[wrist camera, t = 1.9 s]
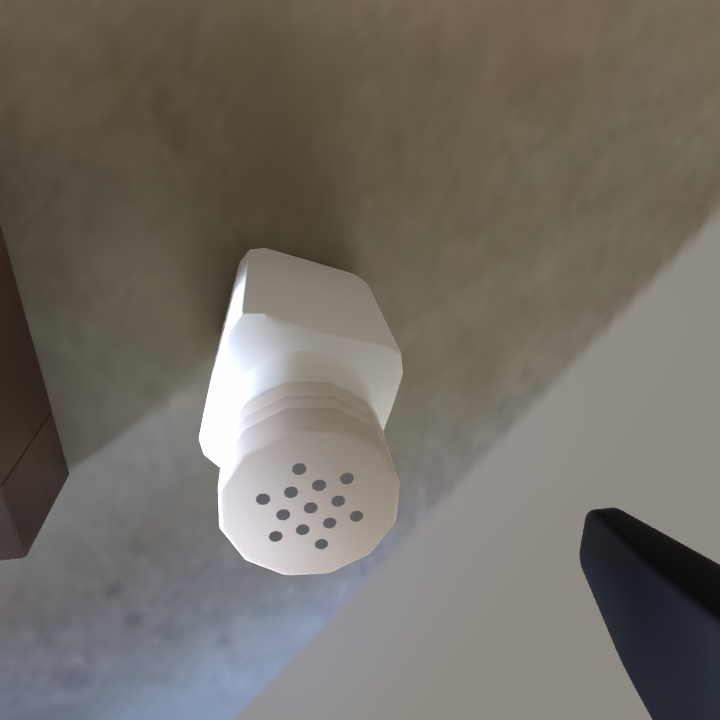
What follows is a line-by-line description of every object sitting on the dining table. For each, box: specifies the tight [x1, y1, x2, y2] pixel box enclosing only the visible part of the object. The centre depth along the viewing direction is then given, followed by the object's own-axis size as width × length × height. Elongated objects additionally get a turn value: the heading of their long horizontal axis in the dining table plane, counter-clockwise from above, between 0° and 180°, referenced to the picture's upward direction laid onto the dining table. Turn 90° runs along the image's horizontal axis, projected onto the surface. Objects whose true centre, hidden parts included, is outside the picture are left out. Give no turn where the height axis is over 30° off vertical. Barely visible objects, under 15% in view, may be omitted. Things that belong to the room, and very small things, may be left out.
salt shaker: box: [199, 248, 403, 575], centre depth 14 cm, size 4×4×10 cm
